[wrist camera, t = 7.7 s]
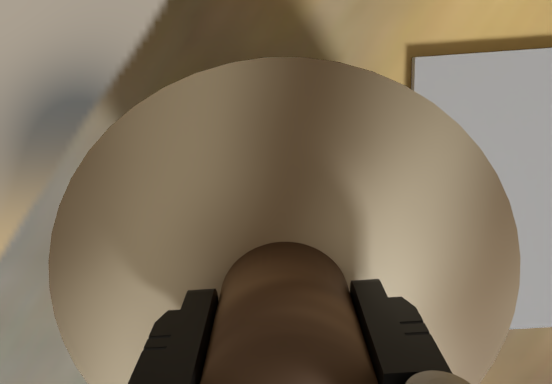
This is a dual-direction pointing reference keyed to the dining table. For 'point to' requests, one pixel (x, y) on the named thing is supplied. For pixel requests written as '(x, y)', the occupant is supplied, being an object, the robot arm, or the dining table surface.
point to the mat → (507, 148)
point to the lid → (283, 225)
